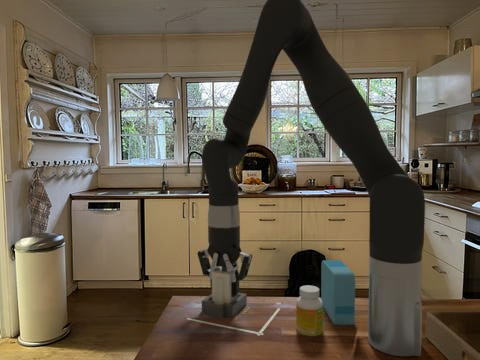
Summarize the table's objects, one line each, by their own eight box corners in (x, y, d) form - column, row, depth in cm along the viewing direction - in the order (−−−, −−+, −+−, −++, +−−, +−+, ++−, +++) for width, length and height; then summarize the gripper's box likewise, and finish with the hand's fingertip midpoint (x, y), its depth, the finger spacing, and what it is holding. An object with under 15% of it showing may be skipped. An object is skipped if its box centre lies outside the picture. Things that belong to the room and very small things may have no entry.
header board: (282, 313, 82) (282, 308, 82) (261, 341, 70) (261, 336, 70) (215, 301, 90) (215, 297, 90) (185, 324, 77) (185, 320, 77)
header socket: (253, 305, 85) (253, 295, 85) (237, 321, 76) (237, 310, 76) (217, 299, 89) (217, 289, 89) (198, 313, 80) (198, 302, 80)
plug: (237, 301, 85) (237, 262, 84) (227, 310, 80) (226, 269, 79) (220, 298, 86) (220, 260, 86) (210, 307, 81) (209, 267, 81)
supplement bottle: (321, 343, 69) (321, 294, 68) (293, 338, 71) (294, 291, 70) (324, 330, 74) (324, 285, 73) (298, 326, 76) (299, 282, 75)
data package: (354, 329, 74) (355, 274, 74) (333, 329, 74) (334, 274, 74) (339, 306, 86) (339, 258, 86) (321, 306, 86) (321, 258, 86)
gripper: (257, 222, 83) (258, 293, 84) (205, 219, 89) (206, 285, 90) (245, 228, 76) (246, 305, 77) (189, 224, 82) (190, 295, 83)
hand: (224, 294), depth 83 cm, fingers closed on plug, 4 cm apart
